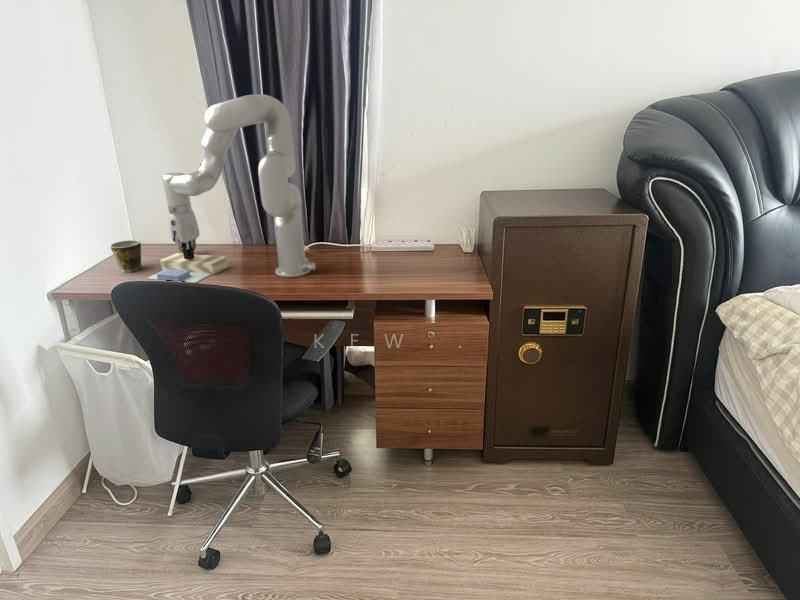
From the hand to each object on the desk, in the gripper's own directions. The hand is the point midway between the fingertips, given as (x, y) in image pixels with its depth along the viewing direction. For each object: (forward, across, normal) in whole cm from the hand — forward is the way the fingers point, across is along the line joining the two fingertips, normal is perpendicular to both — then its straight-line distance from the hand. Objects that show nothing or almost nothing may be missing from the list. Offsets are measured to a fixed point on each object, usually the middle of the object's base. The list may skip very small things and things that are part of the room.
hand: (189, 258), depth 190 cm
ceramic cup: (+5, -5, +23) cm, 24 cm away
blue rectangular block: (+2, -9, +1) cm, 9 cm away
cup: (+5, +16, +13) cm, 21 cm away
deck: (+5, +2, 0) cm, 5 cm away
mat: (+5, -7, 0) cm, 8 cm away
